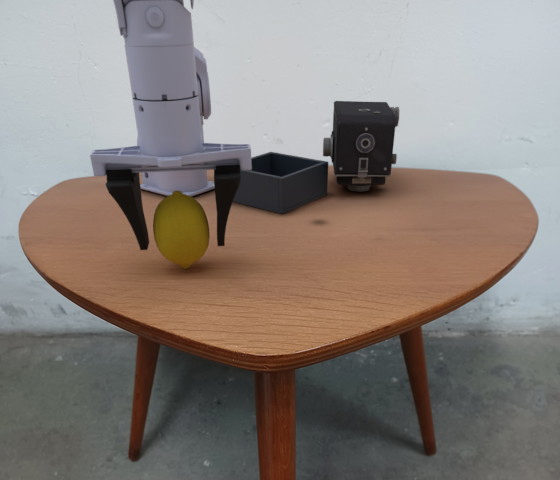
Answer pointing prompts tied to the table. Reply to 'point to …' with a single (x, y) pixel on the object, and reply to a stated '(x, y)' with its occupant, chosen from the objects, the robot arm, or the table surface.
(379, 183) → the camera
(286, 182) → the bin
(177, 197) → the lemon
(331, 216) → the table surface
